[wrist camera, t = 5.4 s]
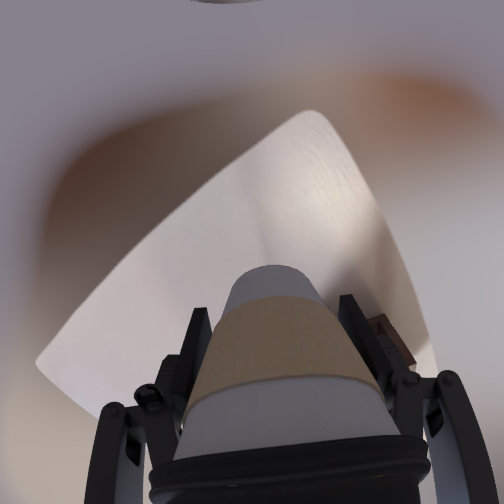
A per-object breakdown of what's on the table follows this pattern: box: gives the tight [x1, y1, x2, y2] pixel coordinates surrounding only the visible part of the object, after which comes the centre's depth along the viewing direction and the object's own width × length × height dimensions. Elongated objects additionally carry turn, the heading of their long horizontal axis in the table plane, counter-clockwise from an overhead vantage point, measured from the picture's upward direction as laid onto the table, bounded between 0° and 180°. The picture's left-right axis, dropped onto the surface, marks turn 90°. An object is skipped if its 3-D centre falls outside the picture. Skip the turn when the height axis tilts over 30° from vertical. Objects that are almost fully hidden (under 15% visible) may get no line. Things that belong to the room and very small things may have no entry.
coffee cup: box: [149, 265, 431, 504], centre depth 11 cm, size 9×9×15 cm
